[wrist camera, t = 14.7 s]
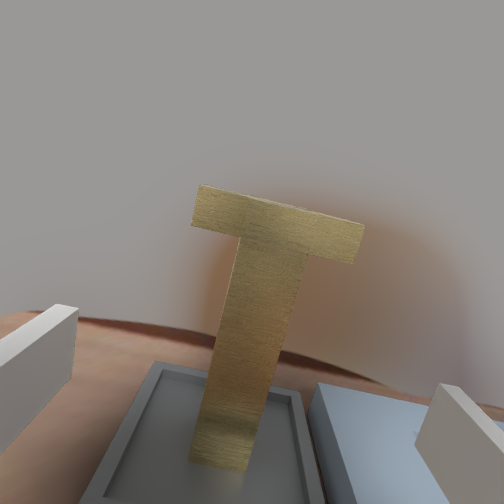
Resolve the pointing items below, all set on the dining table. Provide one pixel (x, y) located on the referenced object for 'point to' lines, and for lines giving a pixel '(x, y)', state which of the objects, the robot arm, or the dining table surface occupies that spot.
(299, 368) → the dining table surface
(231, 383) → the t key
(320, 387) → the cover plate
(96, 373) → the dining table surface
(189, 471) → the tray
